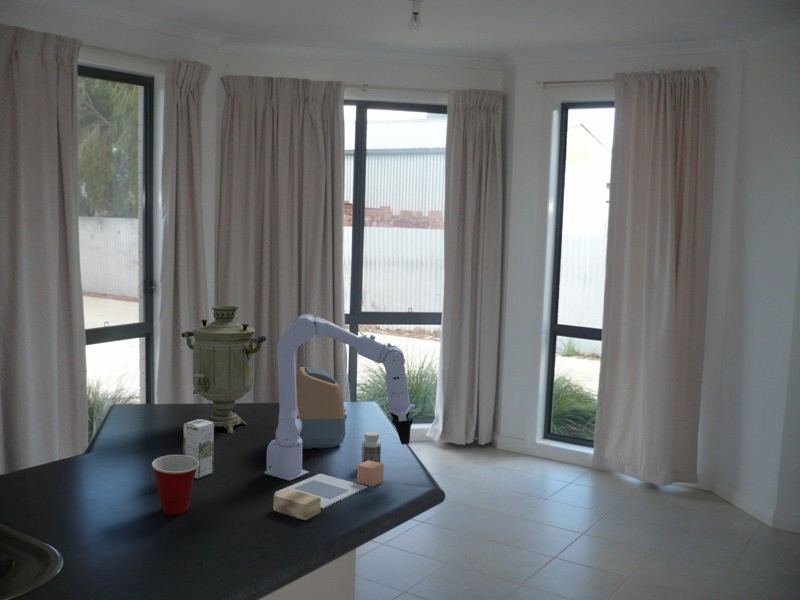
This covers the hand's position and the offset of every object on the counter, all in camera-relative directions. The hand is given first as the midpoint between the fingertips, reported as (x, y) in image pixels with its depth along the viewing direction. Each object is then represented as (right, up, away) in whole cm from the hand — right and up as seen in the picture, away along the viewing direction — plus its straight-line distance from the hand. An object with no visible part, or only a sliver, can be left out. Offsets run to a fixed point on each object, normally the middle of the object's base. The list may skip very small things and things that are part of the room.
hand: (404, 439), depth 205 cm
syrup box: (-56, -9, -2) cm, 57 cm away
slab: (-26, -13, -25) cm, 38 cm away
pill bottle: (-9, -10, +8) cm, 16 cm away
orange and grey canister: (-27, -7, +30) cm, 41 cm away
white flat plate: (-21, -11, -11) cm, 27 cm away
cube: (-9, -11, -4) cm, 15 cm away
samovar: (-61, -4, +42) cm, 74 cm away
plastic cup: (-55, -12, -26) cm, 62 cm away
